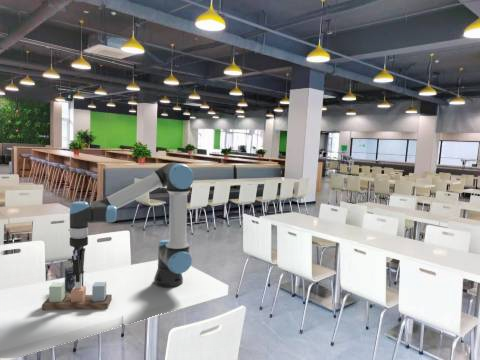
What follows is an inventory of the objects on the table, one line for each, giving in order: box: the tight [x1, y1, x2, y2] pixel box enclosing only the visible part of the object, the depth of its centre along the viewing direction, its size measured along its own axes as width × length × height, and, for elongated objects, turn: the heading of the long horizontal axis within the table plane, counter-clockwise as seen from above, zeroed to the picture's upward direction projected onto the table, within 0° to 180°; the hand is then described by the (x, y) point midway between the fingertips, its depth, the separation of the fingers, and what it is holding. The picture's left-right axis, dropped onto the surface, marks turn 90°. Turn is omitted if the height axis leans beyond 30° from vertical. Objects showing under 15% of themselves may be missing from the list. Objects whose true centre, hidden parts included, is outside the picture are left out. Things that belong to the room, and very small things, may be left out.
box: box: [64, 266, 85, 293], centre depth 186 cm, size 8×6×11 cm
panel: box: [41, 294, 113, 311], centre depth 168 cm, size 27×10×2 cm, turn 99°
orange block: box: [70, 285, 87, 302], centre depth 168 cm, size 5×5×7 cm
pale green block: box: [48, 281, 66, 303], centre depth 166 cm, size 5×5×7 cm
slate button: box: [91, 281, 107, 301], centre depth 169 cm, size 5×5×7 cm
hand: (78, 288), depth 168 cm, fingers closed
